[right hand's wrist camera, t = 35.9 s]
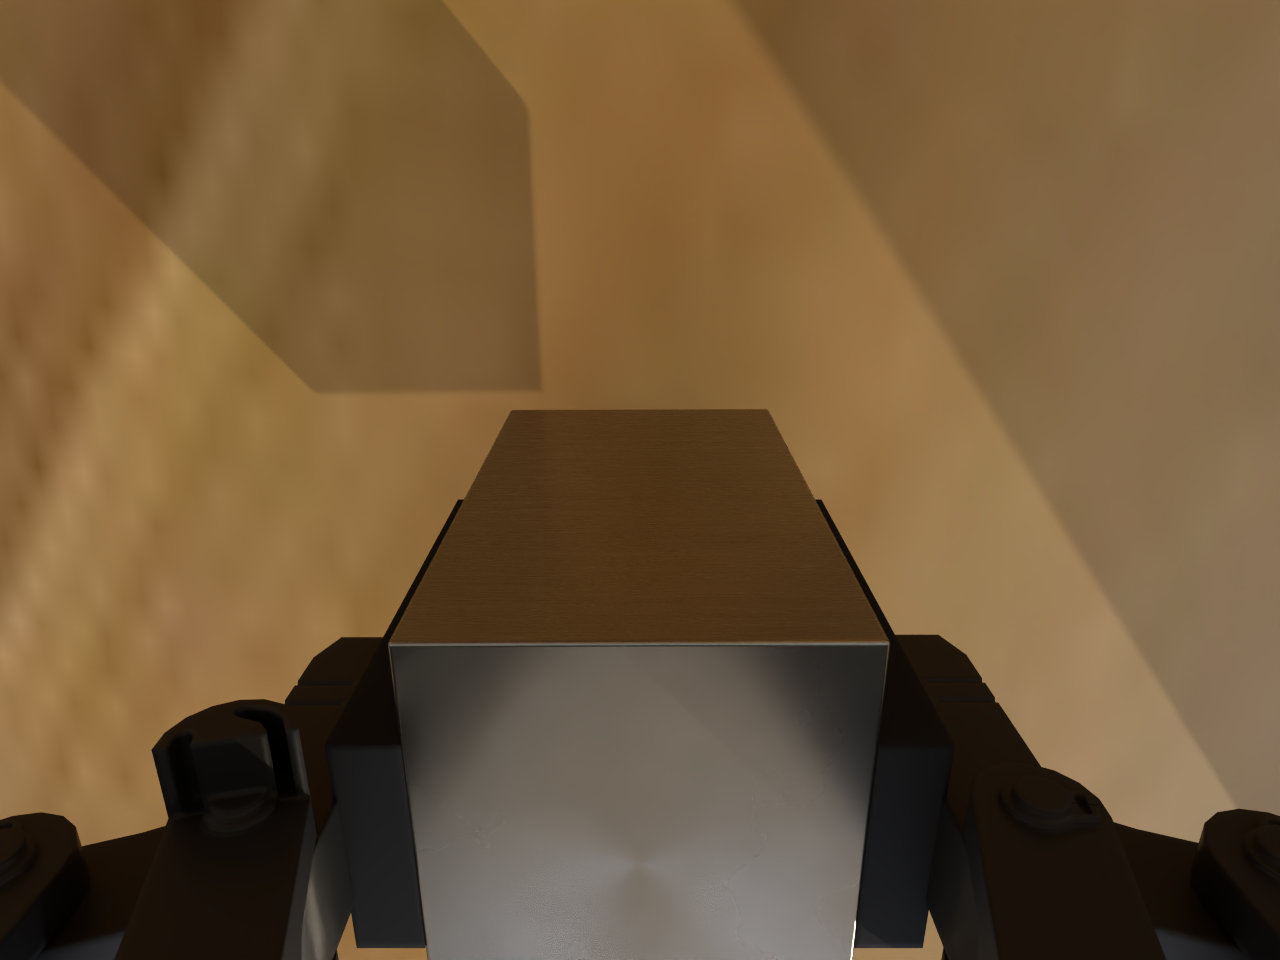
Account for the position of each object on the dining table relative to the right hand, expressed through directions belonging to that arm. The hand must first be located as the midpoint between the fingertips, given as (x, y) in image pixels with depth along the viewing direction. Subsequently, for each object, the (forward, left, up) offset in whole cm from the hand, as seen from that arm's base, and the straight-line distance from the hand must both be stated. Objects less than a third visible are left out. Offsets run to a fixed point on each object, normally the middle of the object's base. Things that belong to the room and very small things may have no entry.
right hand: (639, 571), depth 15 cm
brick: (0, 0, -2) cm, 2 cm away
